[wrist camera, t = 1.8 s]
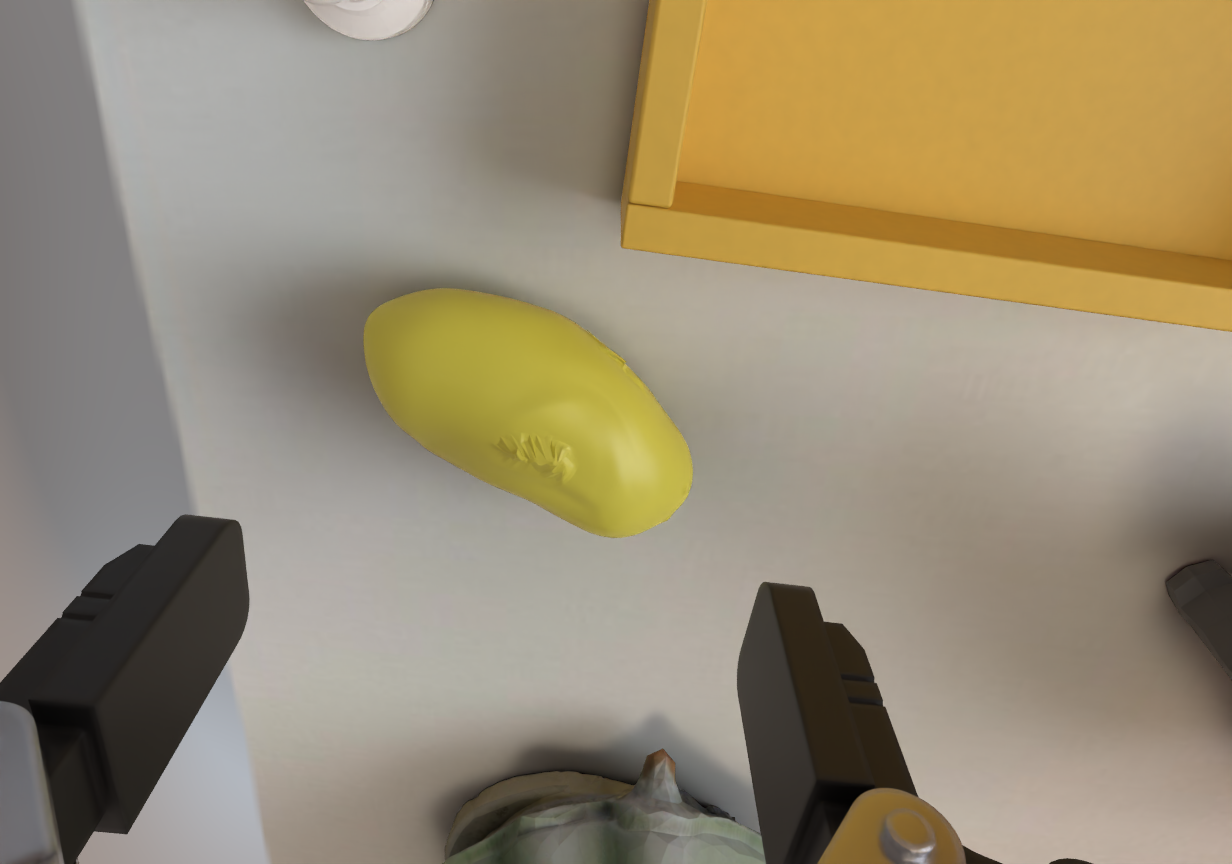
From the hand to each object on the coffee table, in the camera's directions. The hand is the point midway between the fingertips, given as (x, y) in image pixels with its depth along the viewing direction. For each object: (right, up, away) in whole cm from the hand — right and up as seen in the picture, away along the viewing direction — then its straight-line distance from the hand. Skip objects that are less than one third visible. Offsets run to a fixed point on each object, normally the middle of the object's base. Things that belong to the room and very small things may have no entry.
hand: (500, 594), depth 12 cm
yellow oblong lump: (0, +4, +7) cm, 8 cm away
